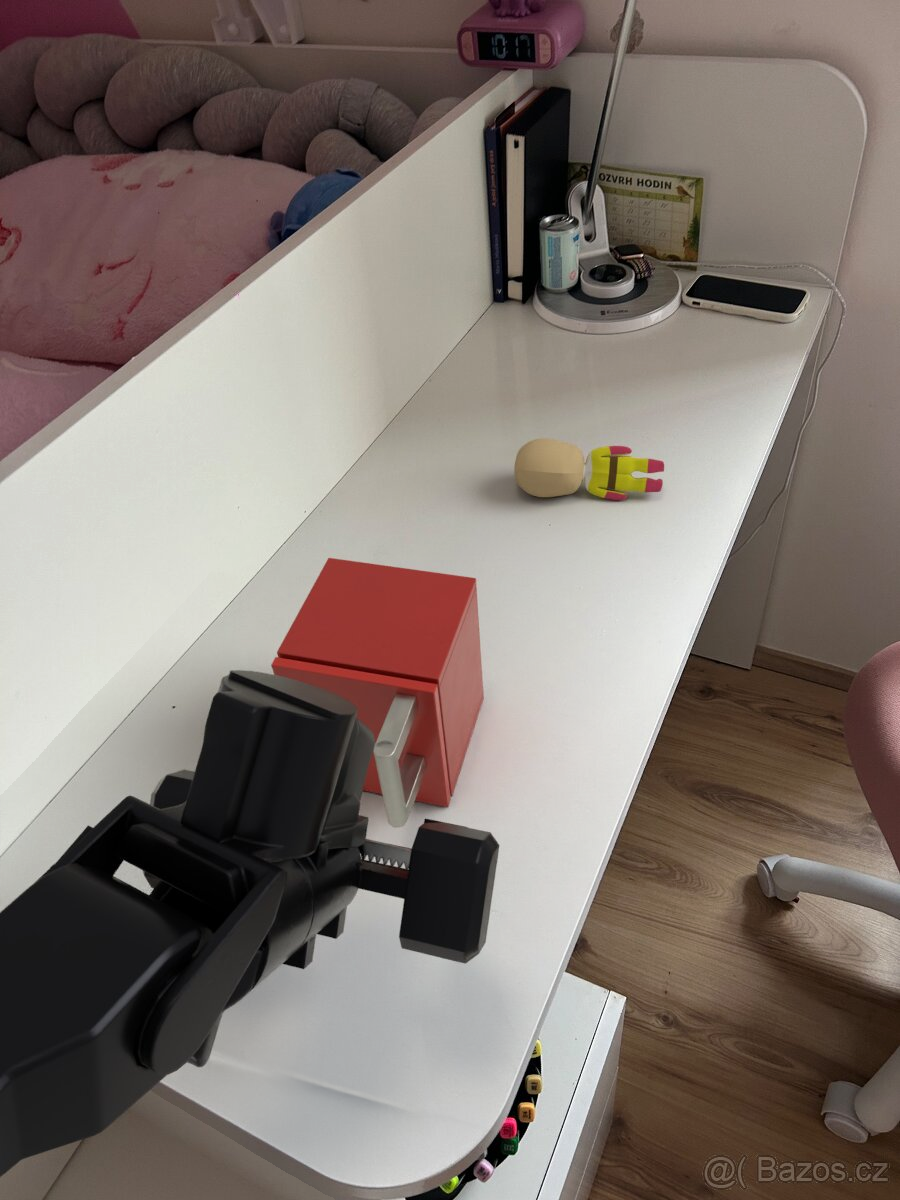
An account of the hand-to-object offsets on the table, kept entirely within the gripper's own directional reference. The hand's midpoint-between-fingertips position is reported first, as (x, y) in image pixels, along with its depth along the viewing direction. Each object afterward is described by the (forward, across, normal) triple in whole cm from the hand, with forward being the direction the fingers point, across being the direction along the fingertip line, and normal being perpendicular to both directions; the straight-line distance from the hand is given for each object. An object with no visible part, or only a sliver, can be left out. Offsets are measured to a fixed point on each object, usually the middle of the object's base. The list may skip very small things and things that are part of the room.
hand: (367, 826), depth 57 cm
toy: (+42, -6, -27) cm, 50 cm away
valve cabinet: (+18, +4, -3) cm, 18 cm away
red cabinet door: (+12, +4, +3) cm, 13 cm away
